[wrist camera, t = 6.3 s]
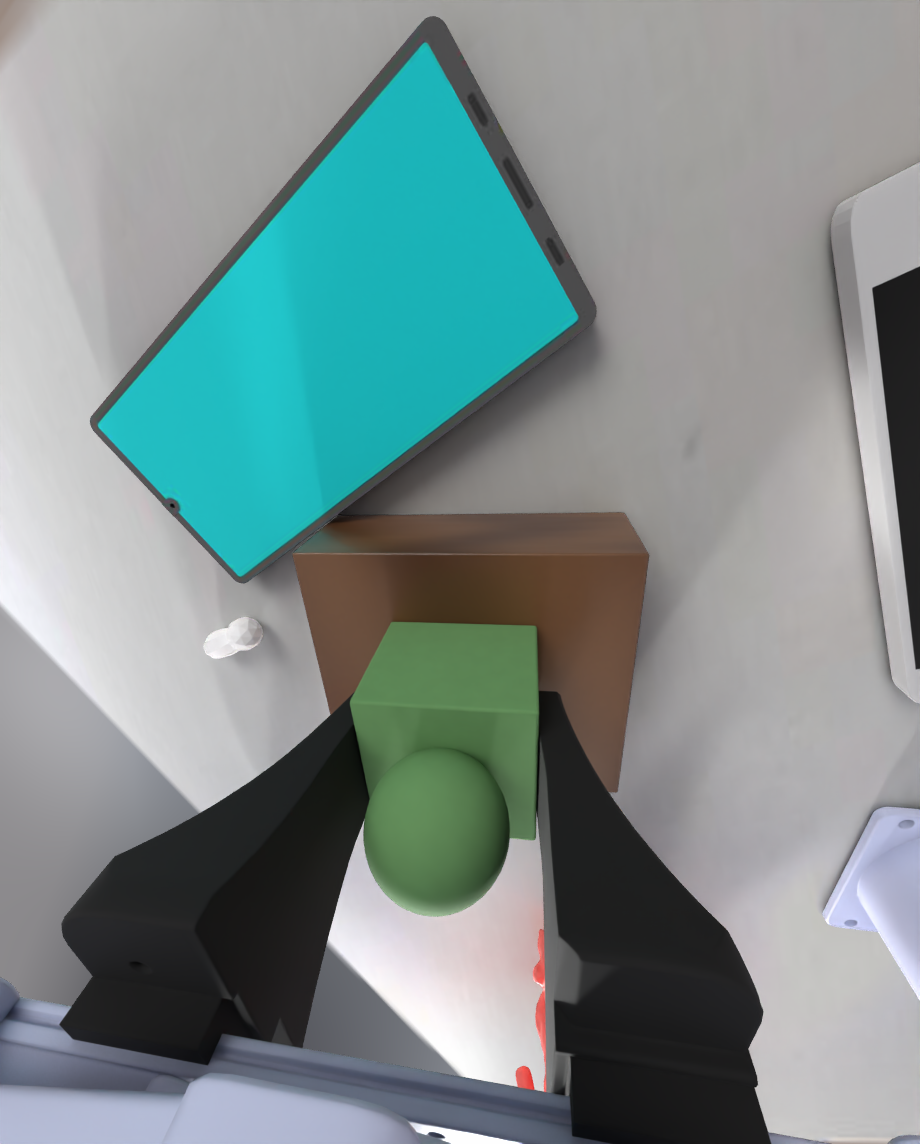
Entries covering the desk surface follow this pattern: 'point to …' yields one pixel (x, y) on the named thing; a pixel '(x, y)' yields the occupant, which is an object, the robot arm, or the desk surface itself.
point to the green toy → (447, 758)
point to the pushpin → (234, 638)
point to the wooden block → (489, 601)
